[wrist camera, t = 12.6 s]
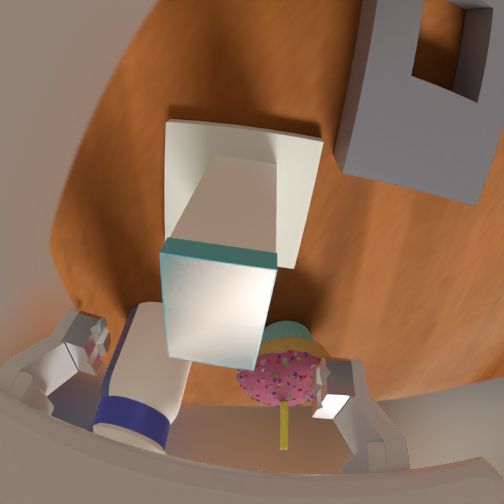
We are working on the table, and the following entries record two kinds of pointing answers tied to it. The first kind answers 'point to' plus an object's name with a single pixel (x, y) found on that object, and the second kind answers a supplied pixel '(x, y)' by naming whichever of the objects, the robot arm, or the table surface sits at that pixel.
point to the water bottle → (141, 383)
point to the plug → (222, 265)
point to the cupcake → (283, 370)
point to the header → (423, 103)
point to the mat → (251, 148)
